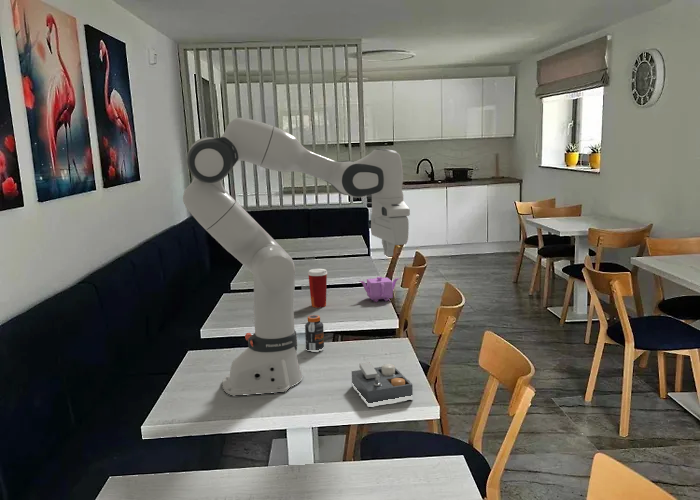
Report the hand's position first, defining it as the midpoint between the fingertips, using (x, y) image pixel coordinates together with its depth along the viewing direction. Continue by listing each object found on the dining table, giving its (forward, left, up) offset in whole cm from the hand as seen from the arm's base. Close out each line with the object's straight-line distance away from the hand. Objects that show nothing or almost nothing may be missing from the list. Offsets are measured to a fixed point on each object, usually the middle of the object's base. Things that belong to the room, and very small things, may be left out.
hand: (388, 255), depth 164 cm
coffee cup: (-3, +74, -34) cm, 82 cm away
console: (-9, -15, -34) cm, 38 cm away
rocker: (-11, -12, -28) cm, 33 cm away
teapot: (+24, +74, -34) cm, 85 cm away
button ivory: (-5, -12, -32) cm, 35 cm away
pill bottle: (-17, +24, -34) cm, 45 cm away
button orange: (-5, -19, -33) cm, 39 cm away
